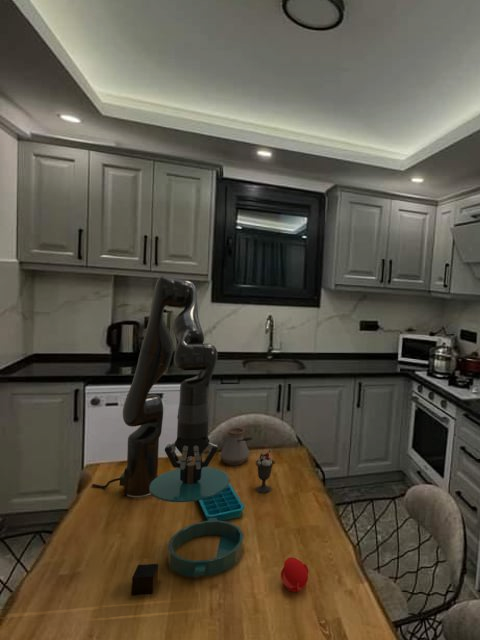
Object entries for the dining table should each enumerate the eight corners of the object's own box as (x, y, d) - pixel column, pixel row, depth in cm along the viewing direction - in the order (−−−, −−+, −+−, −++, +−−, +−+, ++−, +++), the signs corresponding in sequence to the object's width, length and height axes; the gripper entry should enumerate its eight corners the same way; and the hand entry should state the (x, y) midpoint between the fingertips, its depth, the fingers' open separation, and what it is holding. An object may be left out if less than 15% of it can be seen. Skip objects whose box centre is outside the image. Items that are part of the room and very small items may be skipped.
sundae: (270, 494, 151) (273, 453, 150) (251, 492, 151) (253, 451, 150) (275, 485, 158) (277, 446, 156) (256, 484, 158) (259, 444, 156)
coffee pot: (215, 458, 176) (217, 423, 175) (242, 453, 183) (244, 419, 182) (234, 479, 160) (237, 440, 158) (264, 473, 167) (266, 435, 166)
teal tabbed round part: (156, 589, 102) (157, 571, 102) (178, 531, 126) (179, 516, 125) (238, 583, 107) (239, 566, 106) (245, 528, 130) (245, 514, 130)
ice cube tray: (228, 489, 152) (228, 481, 152) (245, 518, 135) (245, 508, 135) (193, 496, 145) (193, 487, 145) (206, 527, 129) (207, 517, 129)
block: (131, 597, 99) (131, 577, 99) (137, 584, 103) (138, 564, 103) (152, 596, 100) (153, 576, 100) (157, 582, 105) (158, 563, 104)
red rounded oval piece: (313, 587, 107) (315, 564, 107) (294, 599, 103) (296, 575, 102) (294, 571, 113) (295, 549, 112) (275, 581, 108) (276, 559, 108)
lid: (138, 506, 103) (139, 481, 103) (160, 470, 122) (161, 450, 122) (224, 503, 108) (225, 479, 107) (232, 469, 127) (233, 449, 126)
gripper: (222, 414, 119) (219, 474, 120) (168, 413, 116) (166, 475, 117) (219, 423, 112) (216, 487, 113) (161, 423, 108) (158, 489, 110)
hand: (190, 481), depth 115 cm, fingers closed on lid, 2 cm apart
